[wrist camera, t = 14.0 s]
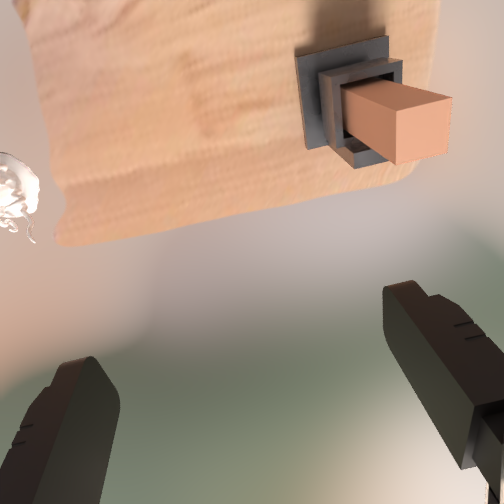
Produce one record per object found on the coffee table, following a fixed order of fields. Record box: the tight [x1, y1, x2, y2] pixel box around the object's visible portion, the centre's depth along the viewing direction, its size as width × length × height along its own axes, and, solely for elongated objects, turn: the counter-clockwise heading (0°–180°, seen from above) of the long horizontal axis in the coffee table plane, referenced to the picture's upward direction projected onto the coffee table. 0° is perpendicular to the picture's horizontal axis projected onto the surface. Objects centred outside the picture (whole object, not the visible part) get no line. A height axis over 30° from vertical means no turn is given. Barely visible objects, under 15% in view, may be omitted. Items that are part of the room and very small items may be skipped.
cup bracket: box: [295, 36, 403, 169], centre depth 37 cm, size 10×10×10 cm
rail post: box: [340, 77, 452, 165], centre depth 32 cm, size 4×4×14 cm
